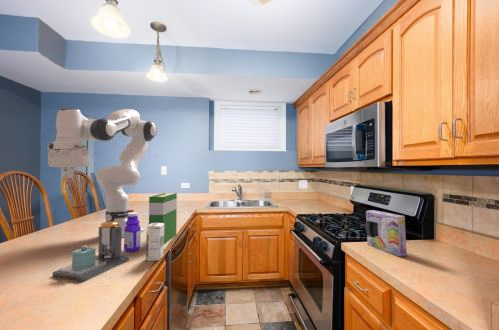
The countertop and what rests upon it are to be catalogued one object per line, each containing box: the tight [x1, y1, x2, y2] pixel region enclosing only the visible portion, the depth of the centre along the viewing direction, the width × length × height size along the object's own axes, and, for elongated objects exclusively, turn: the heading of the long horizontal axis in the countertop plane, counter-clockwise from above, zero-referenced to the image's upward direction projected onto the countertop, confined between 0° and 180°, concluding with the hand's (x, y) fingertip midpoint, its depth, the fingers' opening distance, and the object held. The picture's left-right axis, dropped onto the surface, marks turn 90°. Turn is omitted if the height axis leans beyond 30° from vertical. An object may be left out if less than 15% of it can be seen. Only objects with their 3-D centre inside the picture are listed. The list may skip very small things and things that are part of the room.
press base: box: [52, 225, 130, 283], centre depth 90 cm, size 20×14×14 cm
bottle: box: [123, 211, 142, 253], centre depth 110 cm, size 7×6×17 cm
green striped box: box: [148, 192, 178, 245], centre depth 127 cm, size 18×7×24 cm, turn 176°
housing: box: [71, 245, 96, 269], centre depth 87 cm, size 5×5×7 cm
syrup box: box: [145, 223, 165, 262], centre depth 100 cm, size 6×6×14 cm
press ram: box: [100, 221, 119, 254], centre depth 97 cm, size 6×6×12 cm
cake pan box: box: [365, 209, 408, 257], centre depth 111 cm, size 19×5×18 cm, turn 18°
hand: (68, 177), depth 101 cm, fingers closed
